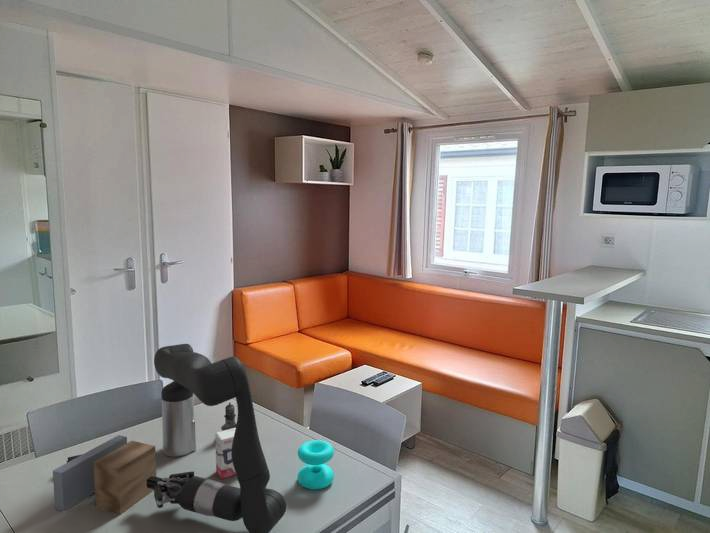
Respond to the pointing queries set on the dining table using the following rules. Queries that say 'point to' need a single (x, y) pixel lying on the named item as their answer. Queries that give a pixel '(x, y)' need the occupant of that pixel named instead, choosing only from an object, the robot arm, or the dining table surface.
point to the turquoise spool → (315, 464)
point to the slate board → (80, 474)
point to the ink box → (224, 453)
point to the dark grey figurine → (229, 418)
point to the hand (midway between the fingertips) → (148, 481)
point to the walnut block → (124, 476)
